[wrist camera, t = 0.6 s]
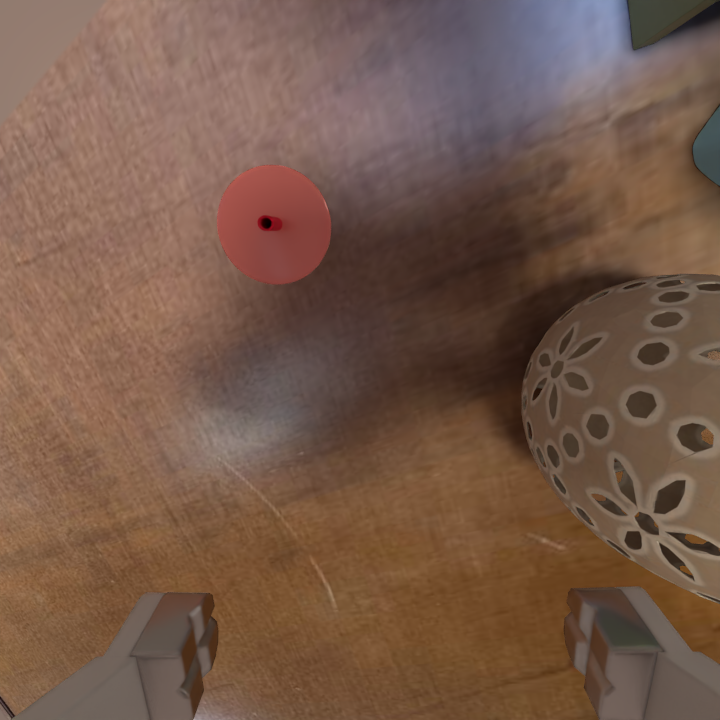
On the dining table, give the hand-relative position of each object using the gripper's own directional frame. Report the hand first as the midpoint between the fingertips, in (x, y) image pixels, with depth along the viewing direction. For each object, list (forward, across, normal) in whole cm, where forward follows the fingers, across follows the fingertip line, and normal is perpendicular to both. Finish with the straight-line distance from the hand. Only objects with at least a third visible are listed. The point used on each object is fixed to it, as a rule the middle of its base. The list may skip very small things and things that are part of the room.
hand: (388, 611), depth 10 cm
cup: (+23, +5, -8) cm, 25 cm away
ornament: (+22, -16, +2) cm, 27 cm away
